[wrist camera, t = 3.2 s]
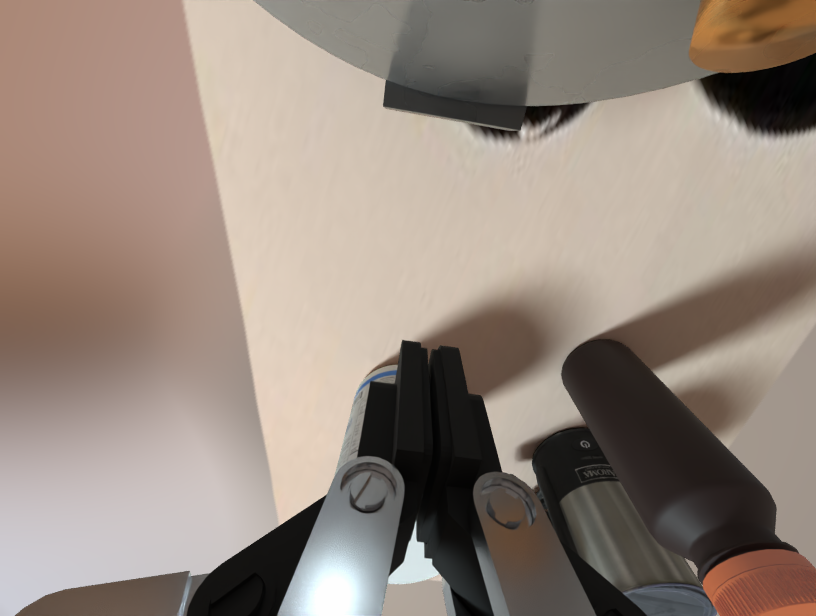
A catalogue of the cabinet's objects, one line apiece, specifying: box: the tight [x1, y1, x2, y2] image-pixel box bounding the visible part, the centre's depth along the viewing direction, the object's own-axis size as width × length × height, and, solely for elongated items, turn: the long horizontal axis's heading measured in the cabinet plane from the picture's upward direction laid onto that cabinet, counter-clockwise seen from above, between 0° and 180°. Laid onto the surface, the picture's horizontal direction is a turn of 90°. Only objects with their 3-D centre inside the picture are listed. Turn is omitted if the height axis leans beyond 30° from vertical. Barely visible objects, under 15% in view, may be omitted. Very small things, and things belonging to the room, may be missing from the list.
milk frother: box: [510, 428, 717, 616], centre depth 35 cm, size 14×16×15 cm
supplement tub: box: [334, 365, 439, 584], centre depth 30 cm, size 10×10×15 cm
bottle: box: [561, 340, 816, 616], centre depth 25 cm, size 7×7×20 cm
